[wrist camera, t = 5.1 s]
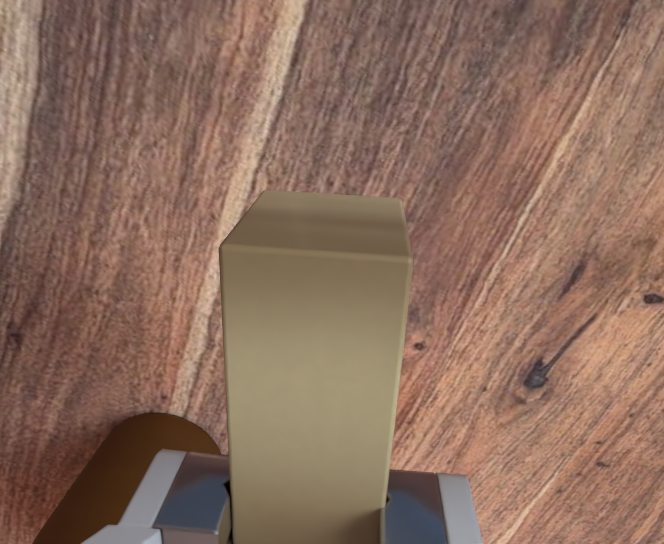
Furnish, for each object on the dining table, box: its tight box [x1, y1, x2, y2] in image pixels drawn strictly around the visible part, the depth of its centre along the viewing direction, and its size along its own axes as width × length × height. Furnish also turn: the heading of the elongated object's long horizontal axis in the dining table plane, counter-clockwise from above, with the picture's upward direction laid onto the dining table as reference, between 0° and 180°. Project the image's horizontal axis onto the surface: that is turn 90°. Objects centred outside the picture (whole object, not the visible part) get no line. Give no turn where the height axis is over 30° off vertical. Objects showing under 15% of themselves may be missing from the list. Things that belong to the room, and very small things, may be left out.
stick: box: [219, 190, 414, 544], centre depth 9 cm, size 10×2×3 cm, turn 177°
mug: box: [33, 413, 221, 544], centre depth 27 cm, size 12×8×9 cm, turn 70°
